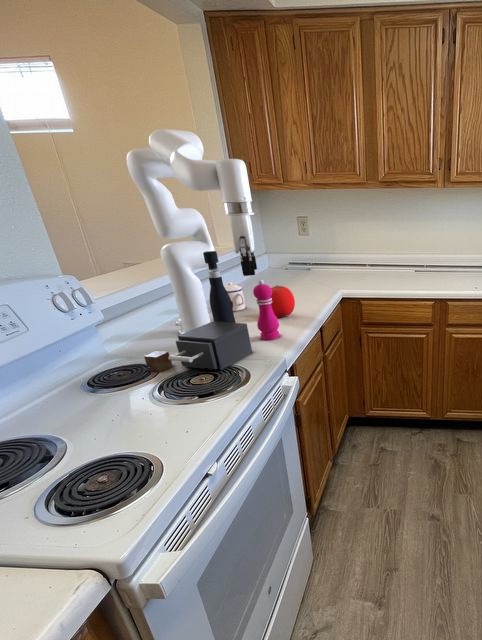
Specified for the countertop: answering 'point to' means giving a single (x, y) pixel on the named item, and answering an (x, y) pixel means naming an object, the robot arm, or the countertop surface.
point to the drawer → (195, 354)
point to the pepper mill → (266, 312)
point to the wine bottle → (218, 291)
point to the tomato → (282, 301)
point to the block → (158, 361)
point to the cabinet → (223, 341)
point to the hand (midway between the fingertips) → (250, 272)
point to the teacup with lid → (235, 296)
